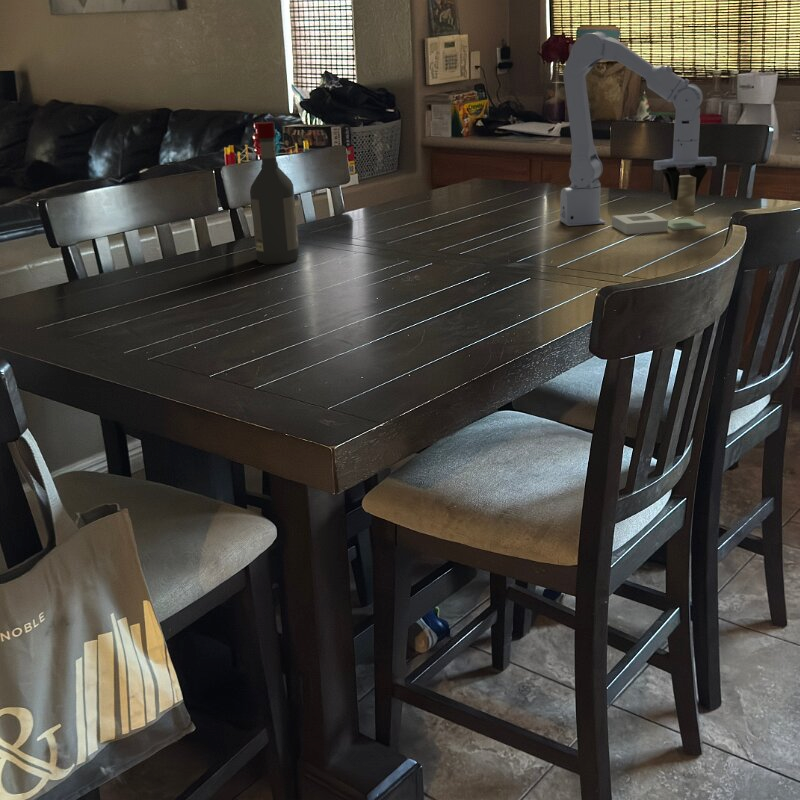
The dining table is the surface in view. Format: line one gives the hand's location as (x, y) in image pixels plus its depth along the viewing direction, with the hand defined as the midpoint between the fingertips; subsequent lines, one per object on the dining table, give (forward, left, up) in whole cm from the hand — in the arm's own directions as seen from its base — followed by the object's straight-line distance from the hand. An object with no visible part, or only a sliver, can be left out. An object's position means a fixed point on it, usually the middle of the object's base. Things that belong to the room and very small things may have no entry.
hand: (683, 198), depth 234 cm
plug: (0, 0, -4) cm, 4 cm away
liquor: (-96, -2, -6) cm, 96 cm away
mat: (0, 0, -6) cm, 6 cm away
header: (-11, 0, -6) cm, 12 cm away
